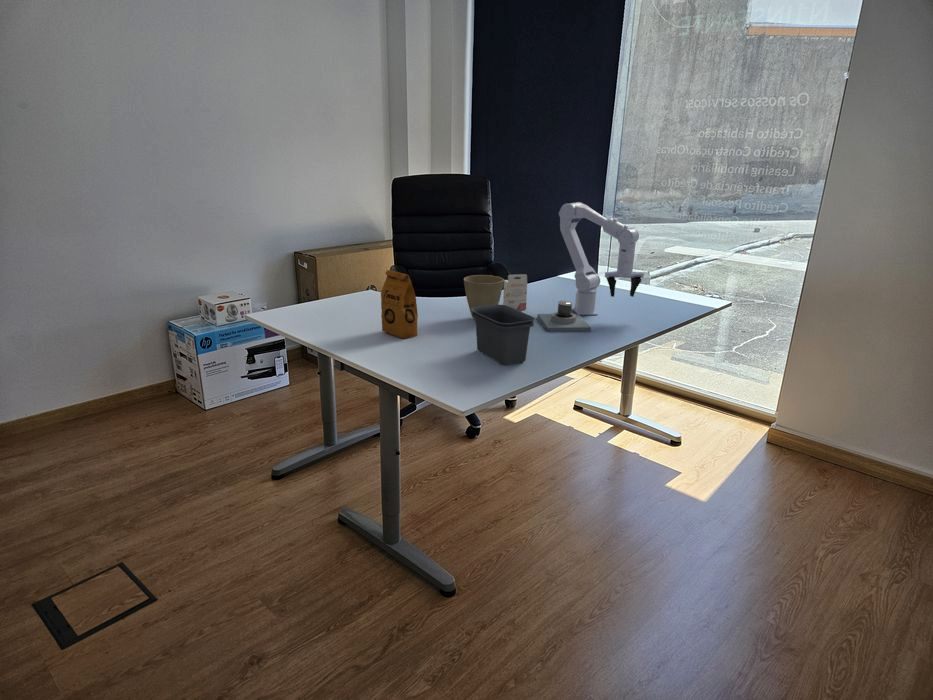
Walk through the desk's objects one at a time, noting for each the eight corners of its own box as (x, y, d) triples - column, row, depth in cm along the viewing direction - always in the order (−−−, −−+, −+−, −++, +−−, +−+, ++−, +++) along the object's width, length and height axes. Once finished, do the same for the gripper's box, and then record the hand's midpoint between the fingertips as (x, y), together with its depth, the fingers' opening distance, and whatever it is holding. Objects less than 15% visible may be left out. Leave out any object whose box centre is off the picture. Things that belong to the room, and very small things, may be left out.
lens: (555, 318, 228) (556, 300, 225) (568, 318, 228) (570, 300, 226) (558, 322, 223) (560, 304, 220) (572, 322, 223) (573, 304, 221)
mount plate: (537, 317, 234) (538, 308, 233) (577, 317, 235) (578, 308, 234) (547, 331, 217) (548, 322, 216) (590, 331, 218) (591, 322, 217)
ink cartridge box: (521, 306, 249) (523, 271, 244) (526, 309, 244) (528, 274, 239) (502, 307, 247) (503, 272, 242) (506, 310, 242) (508, 275, 237)
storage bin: (465, 349, 197) (466, 307, 192) (505, 342, 204) (507, 301, 199) (500, 370, 179) (502, 324, 175) (542, 362, 187) (545, 318, 182)
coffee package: (399, 341, 203) (398, 277, 195) (378, 332, 211) (376, 271, 204) (422, 335, 209) (422, 273, 202) (400, 327, 218) (399, 267, 210)
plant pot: (499, 314, 237) (501, 274, 231) (504, 325, 223) (506, 283, 217) (461, 314, 235) (462, 274, 230) (464, 325, 221) (465, 283, 216)
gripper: (610, 262, 222) (606, 298, 226) (648, 263, 223) (644, 298, 227) (604, 259, 228) (601, 294, 233) (641, 259, 230) (637, 294, 234)
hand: (621, 296), depth 231 cm, fingers open, 7 cm apart
